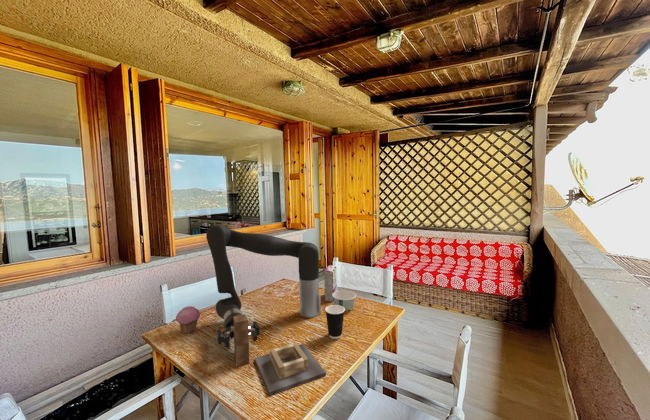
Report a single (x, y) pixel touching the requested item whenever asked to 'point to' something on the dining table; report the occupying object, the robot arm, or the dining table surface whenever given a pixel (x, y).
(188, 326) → the cupcake
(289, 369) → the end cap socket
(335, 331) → the dixie cup
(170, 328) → the dining table surface
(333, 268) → the candy bar box
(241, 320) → the walnut slat
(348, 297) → the food container
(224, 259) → the robot arm
